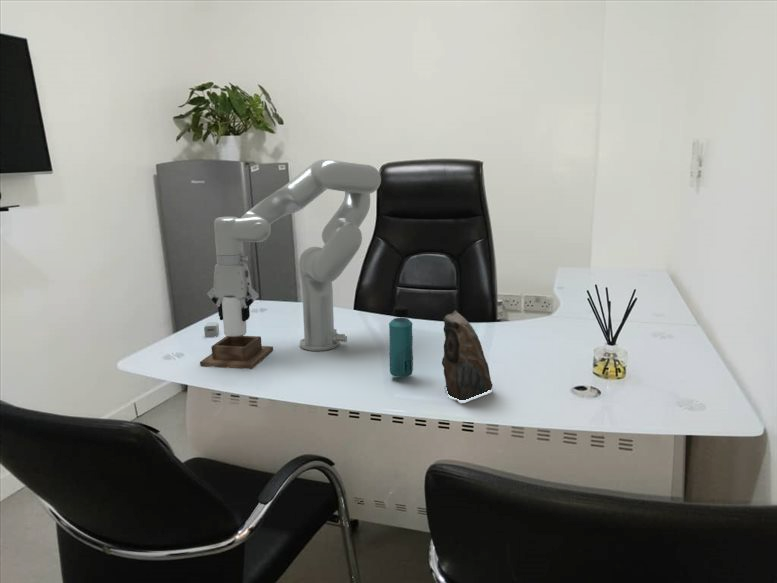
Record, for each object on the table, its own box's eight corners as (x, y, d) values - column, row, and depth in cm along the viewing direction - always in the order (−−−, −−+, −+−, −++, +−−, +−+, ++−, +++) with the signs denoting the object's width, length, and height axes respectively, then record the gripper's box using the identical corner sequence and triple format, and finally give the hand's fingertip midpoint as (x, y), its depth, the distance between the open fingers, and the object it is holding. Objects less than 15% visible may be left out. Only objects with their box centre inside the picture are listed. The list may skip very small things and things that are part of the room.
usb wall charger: (205, 337, 183) (204, 326, 182) (208, 331, 190) (207, 320, 189) (217, 336, 184) (216, 325, 183) (220, 330, 190) (219, 319, 189)
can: (243, 337, 159) (240, 297, 156) (221, 337, 159) (218, 297, 156) (249, 330, 165) (246, 292, 162) (228, 330, 165) (225, 292, 162)
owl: (460, 406, 130) (462, 327, 125) (424, 390, 140) (425, 315, 135) (495, 392, 138) (498, 317, 133) (458, 377, 147) (460, 306, 143)
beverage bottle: (405, 384, 143) (405, 311, 139) (384, 379, 147) (383, 308, 142) (417, 376, 149) (417, 305, 144) (396, 371, 152) (396, 302, 147)
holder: (273, 350, 170) (272, 334, 169) (252, 369, 155) (250, 351, 154) (225, 347, 173) (224, 332, 172) (200, 365, 158) (198, 348, 156)
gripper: (263, 258, 159) (267, 317, 163) (208, 256, 162) (213, 314, 166) (253, 263, 152) (256, 324, 156) (196, 261, 155) (201, 321, 159)
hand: (234, 319), depth 161 cm, fingers closed on can, 6 cm apart
